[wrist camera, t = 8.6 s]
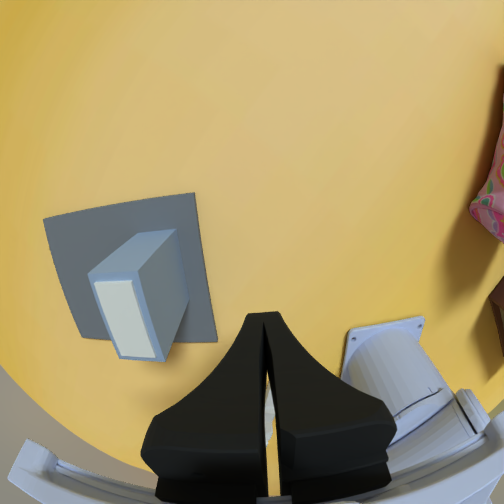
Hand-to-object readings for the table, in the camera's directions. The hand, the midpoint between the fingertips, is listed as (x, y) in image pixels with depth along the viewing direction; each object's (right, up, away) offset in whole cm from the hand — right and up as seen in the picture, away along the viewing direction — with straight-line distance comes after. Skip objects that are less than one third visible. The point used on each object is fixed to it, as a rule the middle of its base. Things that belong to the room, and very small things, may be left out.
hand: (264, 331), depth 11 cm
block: (-7, +2, +8) cm, 11 cm away
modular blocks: (-2, -16, +16) cm, 23 cm away
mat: (-11, +1, +9) cm, 14 cm away
